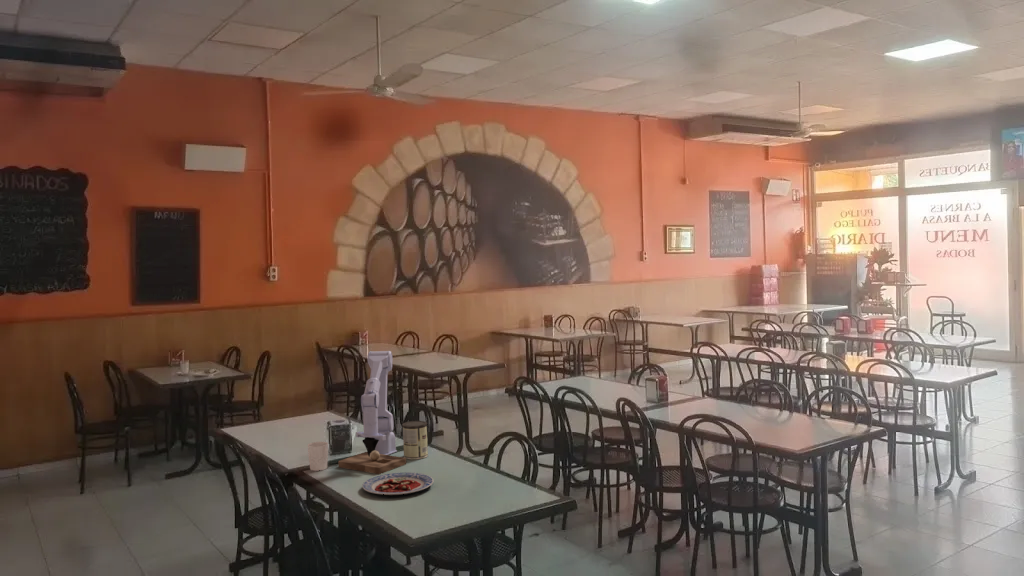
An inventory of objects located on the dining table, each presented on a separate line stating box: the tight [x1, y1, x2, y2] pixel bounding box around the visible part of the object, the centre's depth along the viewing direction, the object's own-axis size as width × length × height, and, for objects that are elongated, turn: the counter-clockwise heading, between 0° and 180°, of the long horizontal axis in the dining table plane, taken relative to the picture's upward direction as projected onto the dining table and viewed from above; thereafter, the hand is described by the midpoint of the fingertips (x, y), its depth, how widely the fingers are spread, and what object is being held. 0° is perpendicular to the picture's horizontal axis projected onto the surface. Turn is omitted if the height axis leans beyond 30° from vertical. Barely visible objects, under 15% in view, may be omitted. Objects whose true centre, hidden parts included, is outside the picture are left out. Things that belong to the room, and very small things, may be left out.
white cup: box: [307, 441, 329, 472], centre depth 305 cm, size 8×8×10 cm
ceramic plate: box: [362, 472, 435, 496], centre depth 277 cm, size 26×26×3 cm
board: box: [338, 451, 407, 475], centre depth 308 cm, size 16×22×2 cm
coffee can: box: [402, 420, 429, 461], centre depth 320 cm, size 10×10×14 cm
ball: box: [370, 450, 380, 461], centre depth 306 cm, size 4×4×4 cm
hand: (371, 456), depth 307 cm, fingers closed, pressing on ball
